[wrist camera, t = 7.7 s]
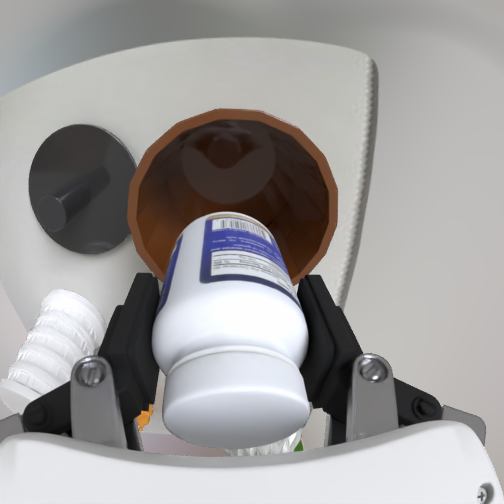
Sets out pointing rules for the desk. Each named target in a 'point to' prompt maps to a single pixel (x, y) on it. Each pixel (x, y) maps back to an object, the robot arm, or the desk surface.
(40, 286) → the desk surface
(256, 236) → the pill bottle
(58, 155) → the lid
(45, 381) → the decorative container
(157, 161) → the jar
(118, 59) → the desk surface
